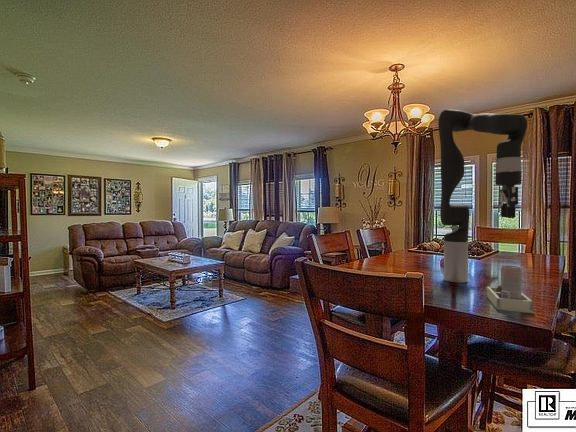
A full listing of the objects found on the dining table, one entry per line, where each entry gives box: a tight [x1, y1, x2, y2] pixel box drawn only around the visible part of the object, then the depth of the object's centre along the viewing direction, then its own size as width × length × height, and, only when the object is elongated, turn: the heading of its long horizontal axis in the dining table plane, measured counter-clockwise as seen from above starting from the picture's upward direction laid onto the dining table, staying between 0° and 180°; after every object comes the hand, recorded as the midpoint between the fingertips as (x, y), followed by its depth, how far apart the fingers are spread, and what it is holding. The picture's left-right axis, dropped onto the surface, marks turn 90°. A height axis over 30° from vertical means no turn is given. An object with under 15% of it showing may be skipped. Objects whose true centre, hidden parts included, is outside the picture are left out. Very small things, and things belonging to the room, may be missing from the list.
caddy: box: [486, 286, 534, 314], centre depth 101 cm, size 16×9×4 cm, turn 157°
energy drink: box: [500, 265, 523, 300], centre depth 98 cm, size 5×5×12 cm
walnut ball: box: [496, 284, 501, 293], centre depth 105 cm, size 5×5×5 cm
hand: (507, 217), depth 109 cm, fingers open, 8 cm apart
